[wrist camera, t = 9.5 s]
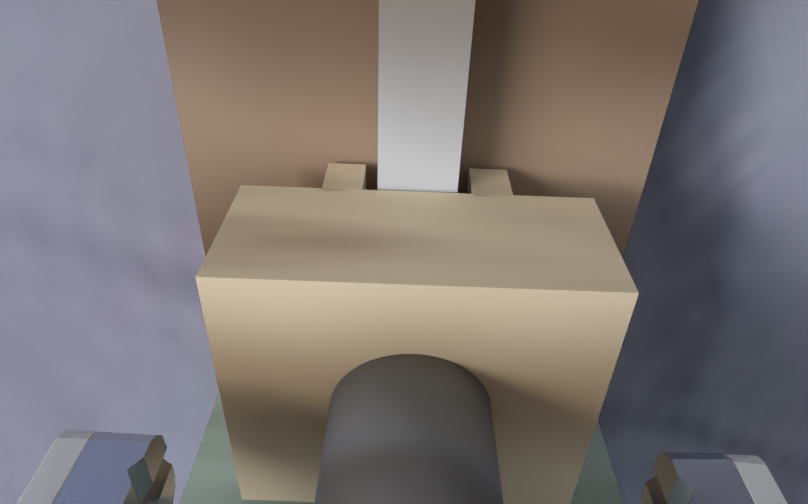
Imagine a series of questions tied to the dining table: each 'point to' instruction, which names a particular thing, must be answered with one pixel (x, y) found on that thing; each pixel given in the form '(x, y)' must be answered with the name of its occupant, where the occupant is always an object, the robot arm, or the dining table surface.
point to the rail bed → (420, 117)
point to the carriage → (412, 340)
